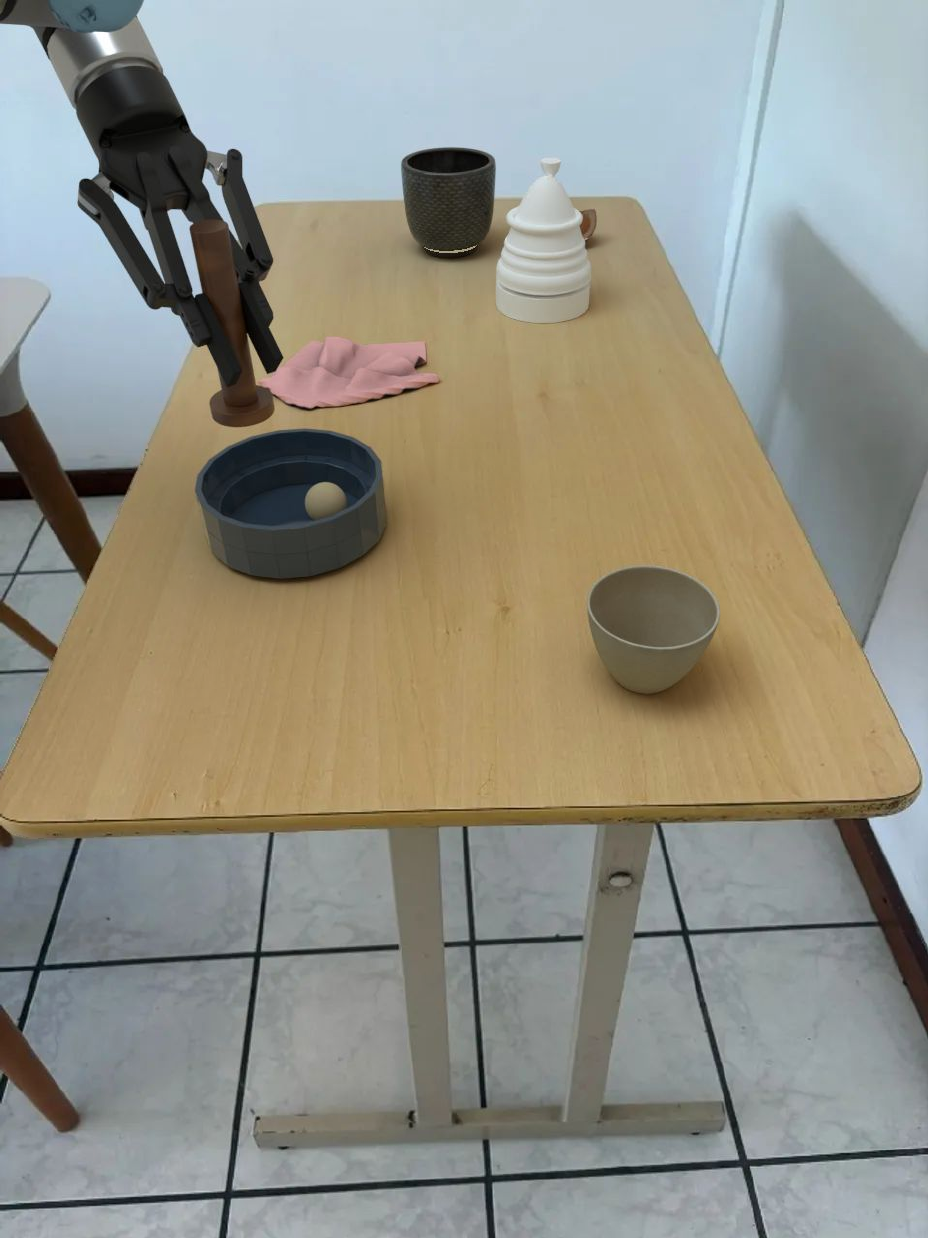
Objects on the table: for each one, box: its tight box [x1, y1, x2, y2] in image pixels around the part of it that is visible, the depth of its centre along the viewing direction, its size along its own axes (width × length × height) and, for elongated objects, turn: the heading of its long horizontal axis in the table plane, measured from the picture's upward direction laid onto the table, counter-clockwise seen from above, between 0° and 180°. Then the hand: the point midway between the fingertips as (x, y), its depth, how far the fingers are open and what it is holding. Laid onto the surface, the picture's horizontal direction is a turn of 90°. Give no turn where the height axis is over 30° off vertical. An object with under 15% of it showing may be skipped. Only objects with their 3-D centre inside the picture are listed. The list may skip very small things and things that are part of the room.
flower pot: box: [586, 564, 721, 695], centre depth 75 cm, size 10×10×7 cm
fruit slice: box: [579, 208, 598, 239], centre depth 148 cm, size 8×7×5 cm
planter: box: [400, 146, 497, 259], centre depth 144 cm, size 14×14×13 cm
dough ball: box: [305, 482, 347, 521], centre depth 92 cm, size 4×4×4 cm
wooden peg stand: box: [188, 220, 276, 428], centre depth 75 cm, size 5×5×15 cm
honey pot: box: [495, 157, 592, 324], centre depth 127 cm, size 13×13×18 cm
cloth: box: [257, 336, 440, 410], centre depth 117 cm, size 20×22×2 cm
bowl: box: [194, 427, 388, 580], centre depth 91 cm, size 17×17×6 cm
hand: (254, 371), depth 74 cm, fingers closed on wooden peg stand, 3 cm apart
